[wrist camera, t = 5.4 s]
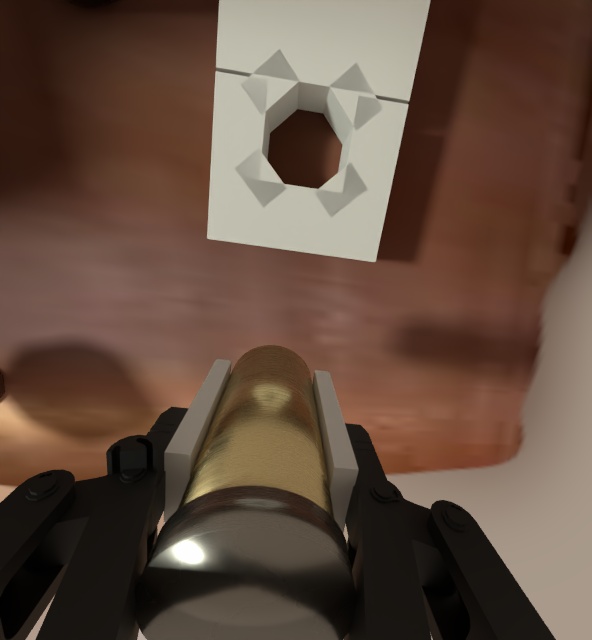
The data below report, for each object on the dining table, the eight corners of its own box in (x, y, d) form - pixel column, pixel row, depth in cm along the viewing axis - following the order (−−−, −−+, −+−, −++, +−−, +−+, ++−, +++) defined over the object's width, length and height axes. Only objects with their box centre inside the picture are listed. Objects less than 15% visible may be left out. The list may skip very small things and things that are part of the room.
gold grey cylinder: (224, 415, 16) (135, 674, 7) (230, 336, 15) (130, 520, 5) (307, 423, 17) (336, 681, 7) (321, 347, 15) (378, 538, 6)
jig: (220, 238, 24) (207, 238, 20) (249, -218, 17) (236, -351, 13) (362, 258, 25) (375, 262, 21) (447, -173, 18) (491, -288, 14)
